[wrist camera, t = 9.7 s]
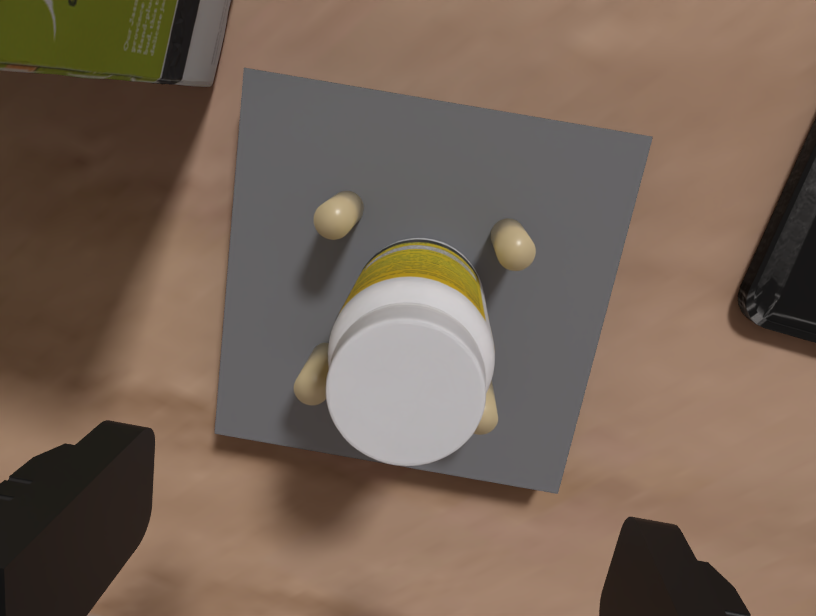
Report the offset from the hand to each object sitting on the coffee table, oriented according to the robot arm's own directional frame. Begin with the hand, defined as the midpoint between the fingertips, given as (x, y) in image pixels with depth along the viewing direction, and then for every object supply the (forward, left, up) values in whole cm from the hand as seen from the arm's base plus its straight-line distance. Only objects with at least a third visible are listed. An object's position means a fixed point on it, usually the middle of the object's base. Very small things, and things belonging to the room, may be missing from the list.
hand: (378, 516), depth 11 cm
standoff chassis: (0, 0, -15) cm, 15 cm away
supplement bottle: (0, 0, -14) cm, 14 cm away
